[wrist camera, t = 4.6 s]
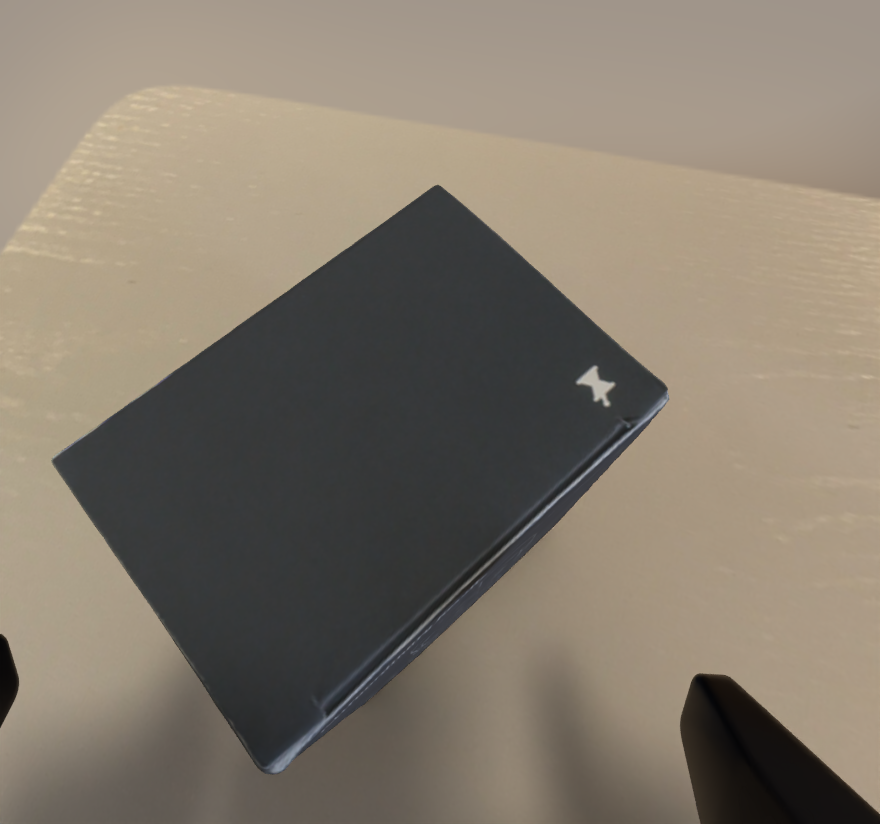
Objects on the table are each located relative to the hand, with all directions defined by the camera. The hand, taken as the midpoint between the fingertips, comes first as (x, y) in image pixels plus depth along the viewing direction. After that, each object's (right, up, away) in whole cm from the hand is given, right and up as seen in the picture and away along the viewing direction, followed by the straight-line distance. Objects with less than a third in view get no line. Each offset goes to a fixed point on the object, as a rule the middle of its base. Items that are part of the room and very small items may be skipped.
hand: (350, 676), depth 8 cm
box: (0, -1, +11) cm, 11 cm away
